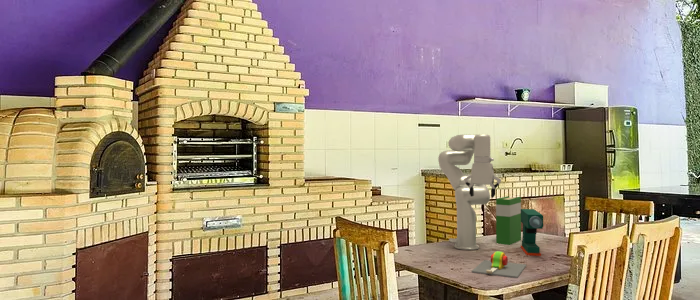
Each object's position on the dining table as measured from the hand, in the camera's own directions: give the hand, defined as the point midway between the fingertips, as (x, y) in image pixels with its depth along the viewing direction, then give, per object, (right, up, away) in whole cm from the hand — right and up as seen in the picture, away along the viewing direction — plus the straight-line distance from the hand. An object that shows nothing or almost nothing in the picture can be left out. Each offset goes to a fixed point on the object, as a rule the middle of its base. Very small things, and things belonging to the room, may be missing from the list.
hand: (482, 196), depth 222 cm
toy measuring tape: (-1, -28, -25) cm, 38 cm away
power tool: (+26, -29, +4) cm, 39 cm away
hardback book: (+25, -28, +36) cm, 52 cm away
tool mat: (+1, -28, -23) cm, 37 cm away
